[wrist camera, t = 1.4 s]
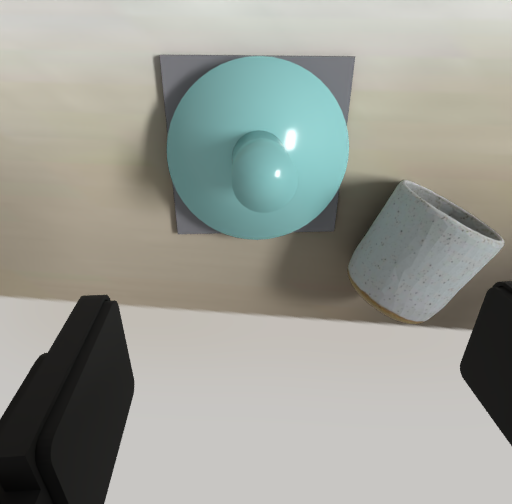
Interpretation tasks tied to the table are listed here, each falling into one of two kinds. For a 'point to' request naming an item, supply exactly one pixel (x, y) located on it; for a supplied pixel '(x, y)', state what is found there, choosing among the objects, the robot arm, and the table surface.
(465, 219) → the ceramic mug
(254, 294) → the table surface
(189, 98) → the lid
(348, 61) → the mat
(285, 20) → the table surface
